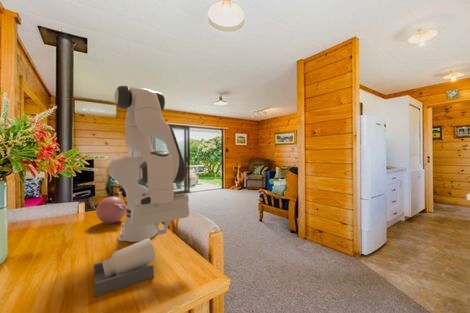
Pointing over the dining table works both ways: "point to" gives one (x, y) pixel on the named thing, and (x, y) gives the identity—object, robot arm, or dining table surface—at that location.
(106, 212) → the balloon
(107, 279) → the u rest
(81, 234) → the dining table surface
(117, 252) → the pill bottle
